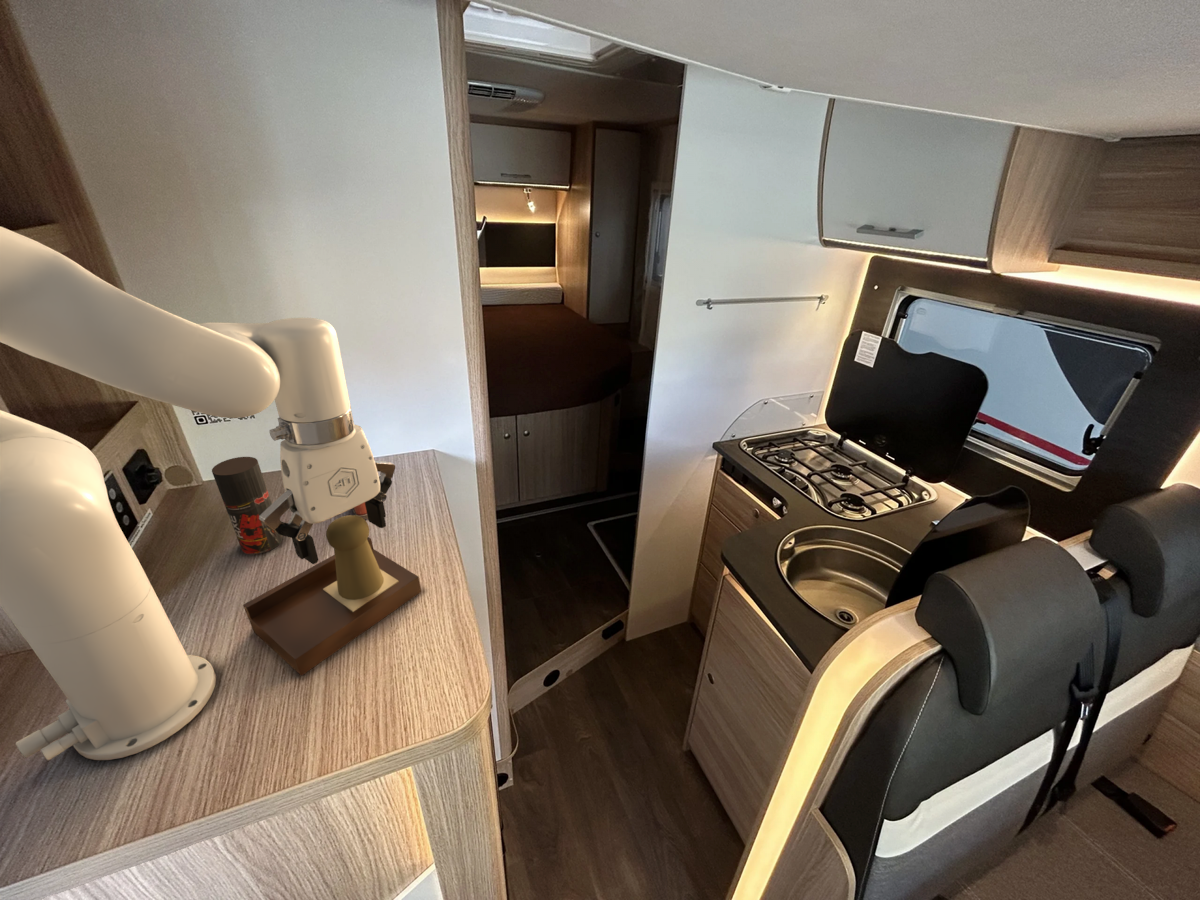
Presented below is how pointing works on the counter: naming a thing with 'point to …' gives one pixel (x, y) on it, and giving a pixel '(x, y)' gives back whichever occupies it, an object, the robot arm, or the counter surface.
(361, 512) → the lighter
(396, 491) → the counter surface
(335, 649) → the shelf
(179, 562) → the counter surface
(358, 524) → the cork
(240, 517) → the deodorant
